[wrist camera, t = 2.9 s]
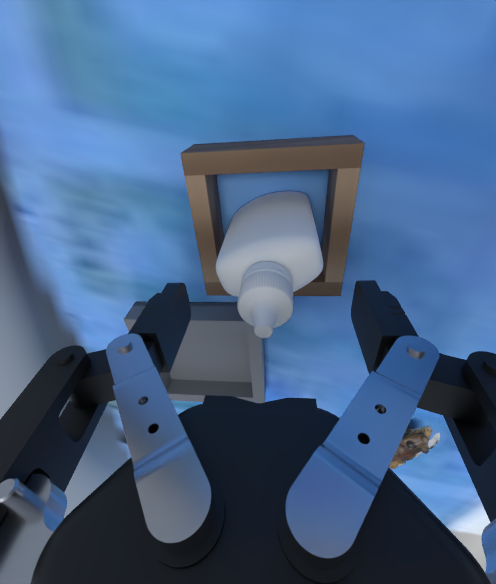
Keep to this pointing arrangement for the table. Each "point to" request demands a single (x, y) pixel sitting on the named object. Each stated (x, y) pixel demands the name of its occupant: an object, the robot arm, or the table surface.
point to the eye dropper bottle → (269, 257)
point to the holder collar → (275, 158)
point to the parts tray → (214, 355)
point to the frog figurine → (414, 445)
